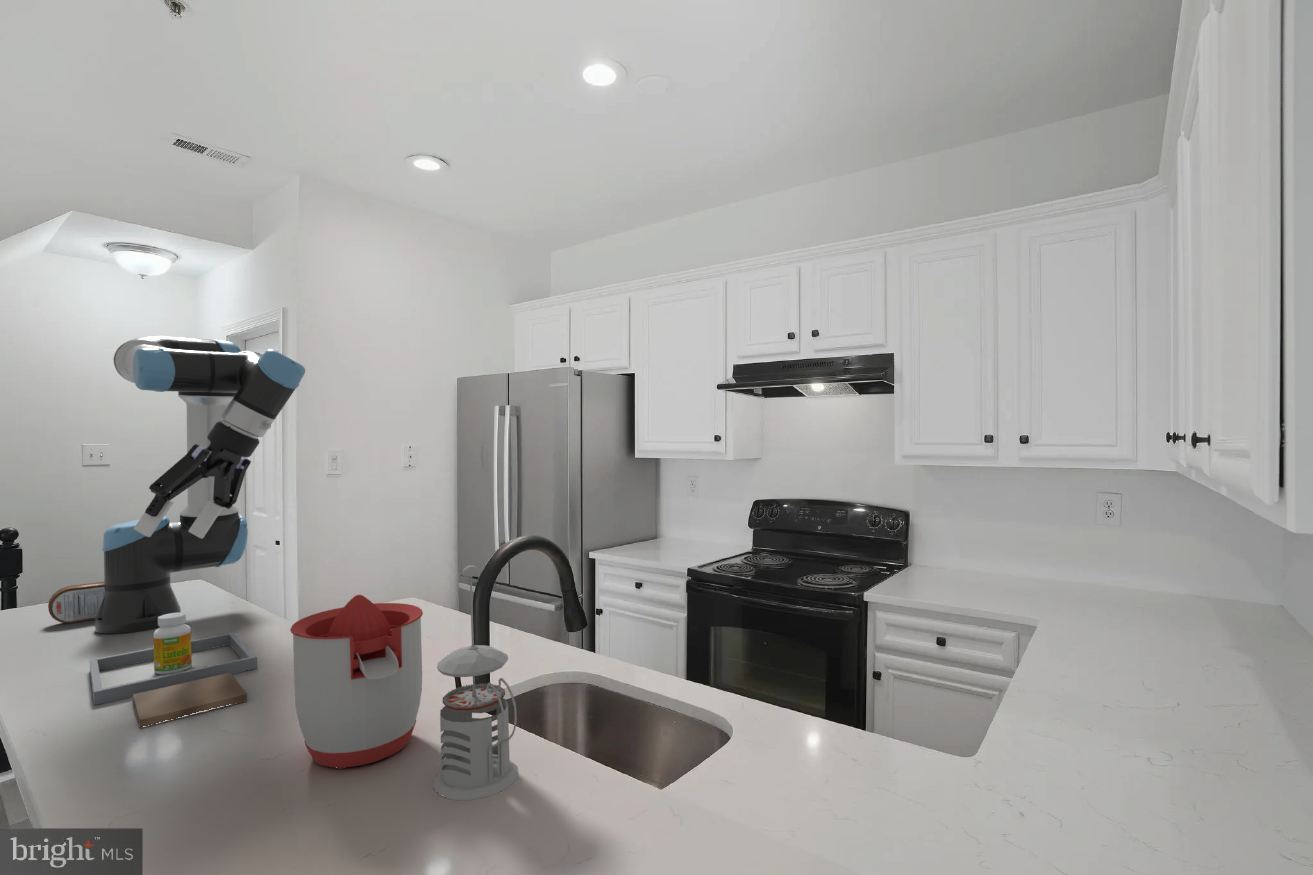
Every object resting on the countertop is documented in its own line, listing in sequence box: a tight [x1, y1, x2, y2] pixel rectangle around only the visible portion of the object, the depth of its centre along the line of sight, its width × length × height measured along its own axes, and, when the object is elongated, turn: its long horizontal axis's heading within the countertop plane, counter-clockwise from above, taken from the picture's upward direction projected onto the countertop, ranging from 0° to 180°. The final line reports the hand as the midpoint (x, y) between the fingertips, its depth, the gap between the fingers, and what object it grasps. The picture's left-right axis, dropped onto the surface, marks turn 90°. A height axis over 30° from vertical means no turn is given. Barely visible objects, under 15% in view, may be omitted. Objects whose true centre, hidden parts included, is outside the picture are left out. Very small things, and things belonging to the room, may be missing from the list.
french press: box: [432, 564, 519, 801], centre depth 77 cm, size 10×12×25 cm
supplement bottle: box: [152, 612, 193, 676], centre depth 117 cm, size 5×5×10 cm
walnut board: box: [132, 673, 248, 729], centre depth 102 cm, size 13×13×1 cm
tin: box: [47, 581, 105, 624], centre depth 153 cm, size 15×3×8 cm, turn 130°
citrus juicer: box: [289, 594, 424, 769], centre depth 85 cm, size 16×17×20 cm
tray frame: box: [89, 632, 258, 706], centre depth 117 cm, size 22×21×2 cm
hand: (170, 534), depth 115 cm, fingers open, 13 cm apart
